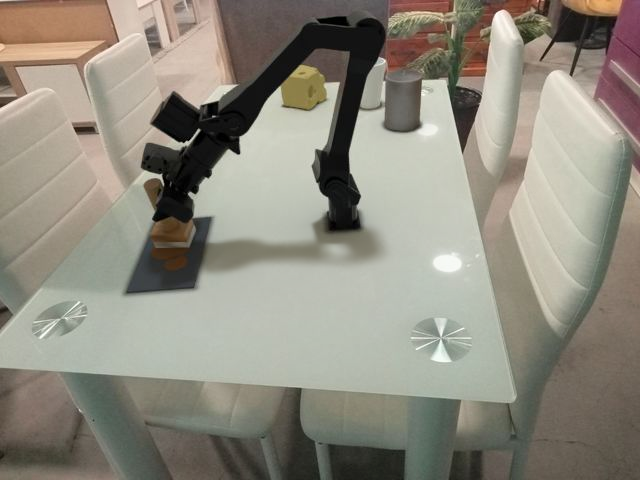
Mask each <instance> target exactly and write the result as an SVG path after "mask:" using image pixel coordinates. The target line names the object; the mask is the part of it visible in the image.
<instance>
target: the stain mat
mask: <svg viewBox="0 0 640 480" xmlns="http://www.w3.org/2000/svg"><path fill="white" fill-rule="evenodd" d="M192 220H193V223H194V226H195V228H196V232H195V235H194V237H193V240H192V242H191V245H190V247H189V248H156V247H155V245H154V243H153V241H152V239H151V237H150V234H149V235H148V236H147V237H148V238H147V240H146V242H145V245H144V247H143V250H142V252H141V254H140V257H139V259H138V262H137V264H136V266H135V269H134V272H133V274H132V277H131V279H130V281H129V283H128V286H127V289H126V292H125V293H126V294H128V293H143V292H155V291H156V292H157V291H169V290H181V289H182V290H183V289H193V288H195V284H196V280H197V276H198V272H199V268H200V264H201V260H202V256H203V252H204V248H205V244H206V240H207V237H208V232H209V229H210V224H211V220H212V216H203V217H193V218H192ZM155 223H156V222H155V221H154V223H153V226H152V228H151V230H150V232H151V231H152V229H153V227H154V225H155Z"/></svg>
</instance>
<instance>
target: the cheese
mask: <svg viewBox="0 0 640 480" xmlns="http://www.w3.org/2000/svg"><path fill="white" fill-rule="evenodd" d="M325 84H326V79H325V76H324V75H323V74H321V73H320V71H319V70H318V68H316V67H312V66H308V65H305V64H301V65H300V66H299V67H298V68H297V69H296V70H295V71H294V72H293V73H292V74H291V75H290V76H289V77H288V78H287V79H286V80H285V81H284V82H283V83H282V85H281V86H280V95H281V99H282V103H283V106H286V107H291V108H297V109H303V110H308V111H309V110H311V109H313V108H314V107H316V106H317V104H319V103H322V102H324V101H325V100H327V97H328V96H327V95H328V93H327V88H326V87H325Z"/></svg>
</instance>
